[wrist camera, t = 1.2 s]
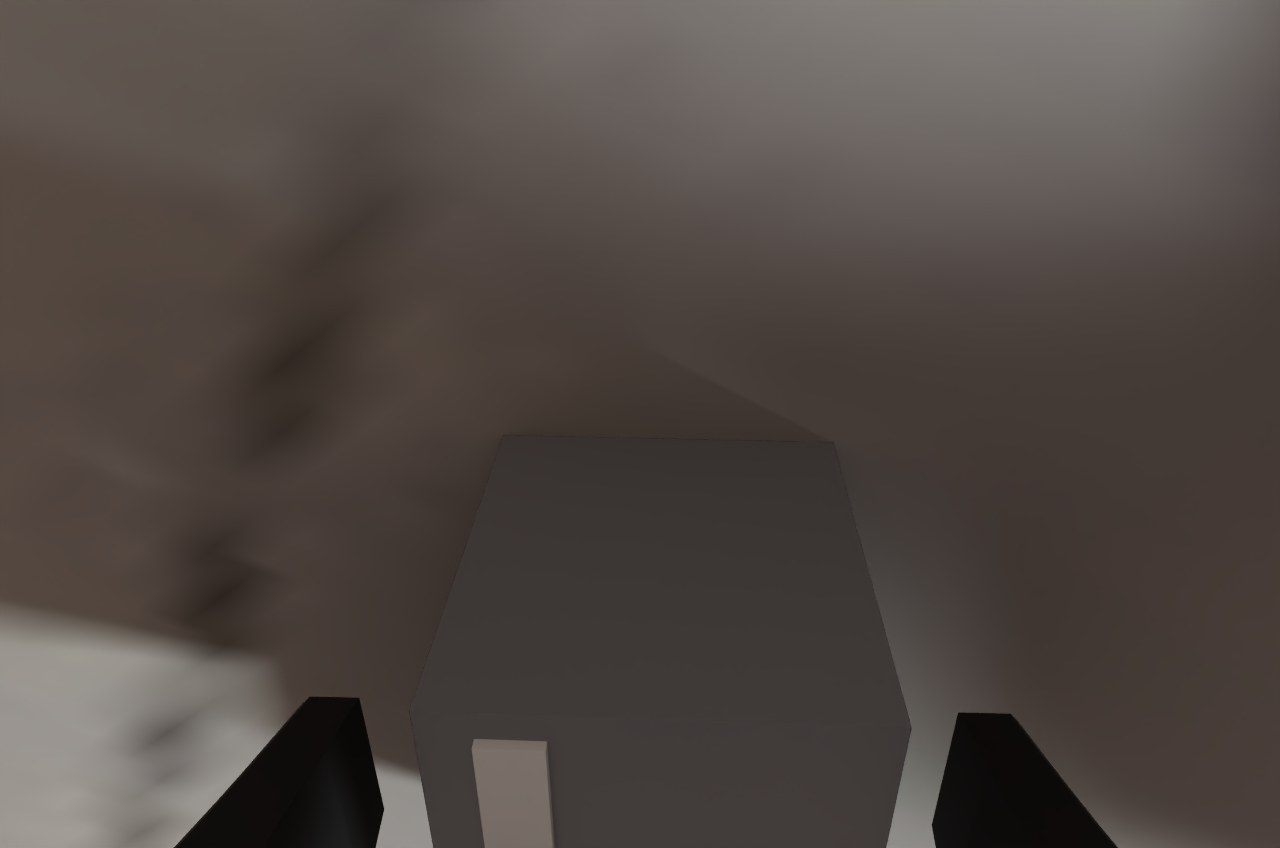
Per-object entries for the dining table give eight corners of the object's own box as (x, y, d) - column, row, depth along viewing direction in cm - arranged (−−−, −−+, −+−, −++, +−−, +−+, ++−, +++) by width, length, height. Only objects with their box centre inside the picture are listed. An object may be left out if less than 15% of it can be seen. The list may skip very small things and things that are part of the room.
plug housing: (831, 437, 11) (913, 737, 7) (785, 813, 15) (823, 1156, 11) (505, 430, 11) (406, 720, 7) (537, 804, 15) (482, 1139, 11)
